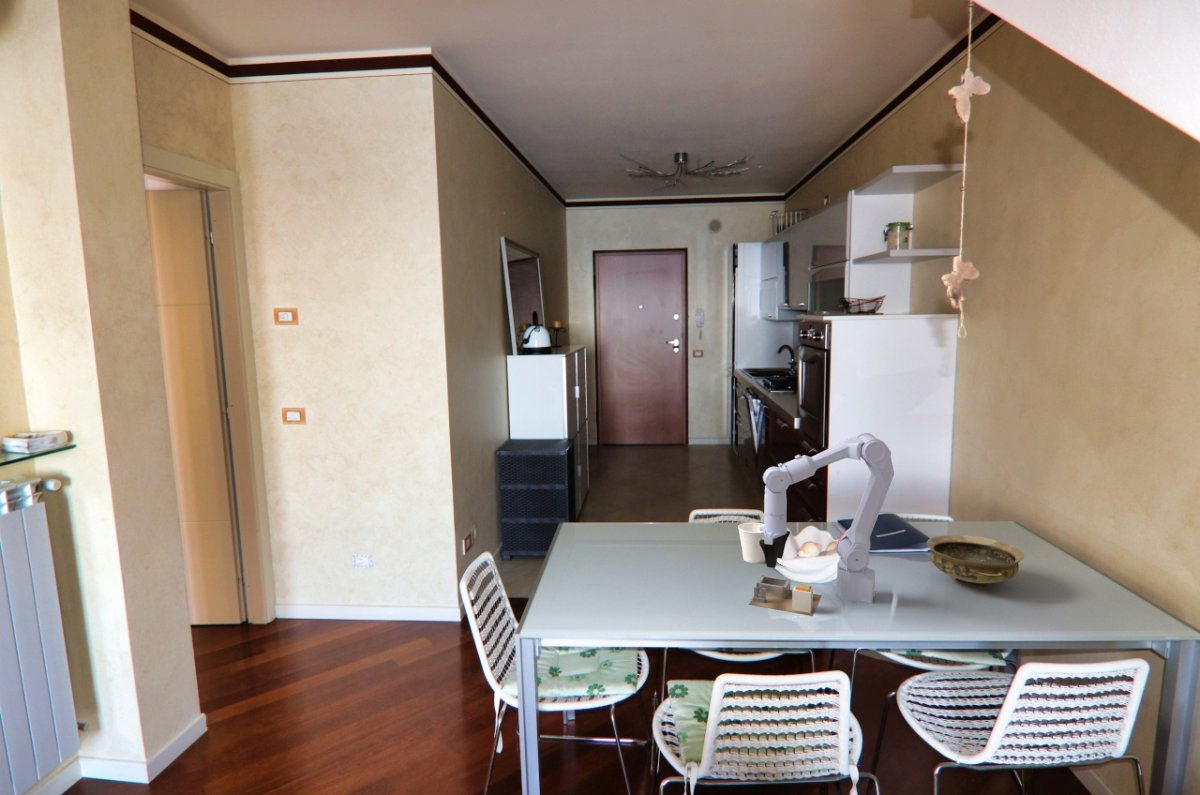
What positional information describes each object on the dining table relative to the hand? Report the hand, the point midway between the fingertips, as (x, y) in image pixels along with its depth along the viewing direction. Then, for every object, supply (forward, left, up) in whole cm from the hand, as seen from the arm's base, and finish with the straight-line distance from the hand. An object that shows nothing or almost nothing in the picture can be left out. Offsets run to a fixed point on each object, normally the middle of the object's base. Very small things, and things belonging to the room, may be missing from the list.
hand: (774, 562), depth 185 cm
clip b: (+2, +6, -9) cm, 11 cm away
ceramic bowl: (-48, -33, -10) cm, 59 cm away
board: (-4, +3, -10) cm, 11 cm away
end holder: (0, -1, -9) cm, 9 cm away
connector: (-9, +7, -9) cm, 14 cm away
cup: (+11, -23, -10) cm, 28 cm away
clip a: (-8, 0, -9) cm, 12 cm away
